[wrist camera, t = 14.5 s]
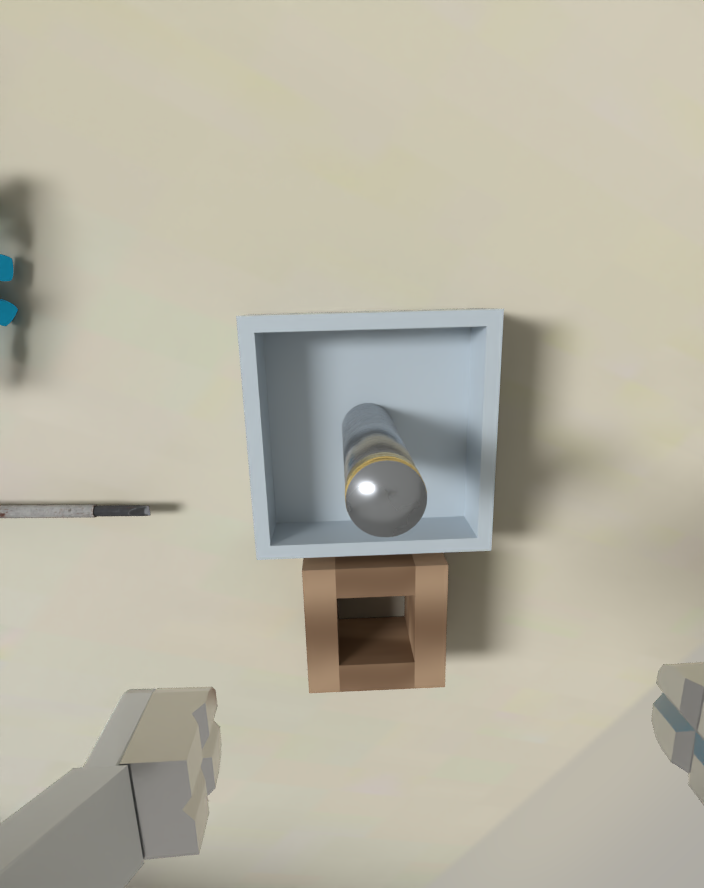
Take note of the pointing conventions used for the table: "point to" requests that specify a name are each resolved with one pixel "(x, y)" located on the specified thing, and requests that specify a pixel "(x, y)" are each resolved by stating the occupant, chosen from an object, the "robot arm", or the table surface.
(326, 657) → the block
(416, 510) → the pin
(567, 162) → the table surface
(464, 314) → the tray
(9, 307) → the gear
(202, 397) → the table surface
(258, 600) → the table surface
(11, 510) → the screwdriver
